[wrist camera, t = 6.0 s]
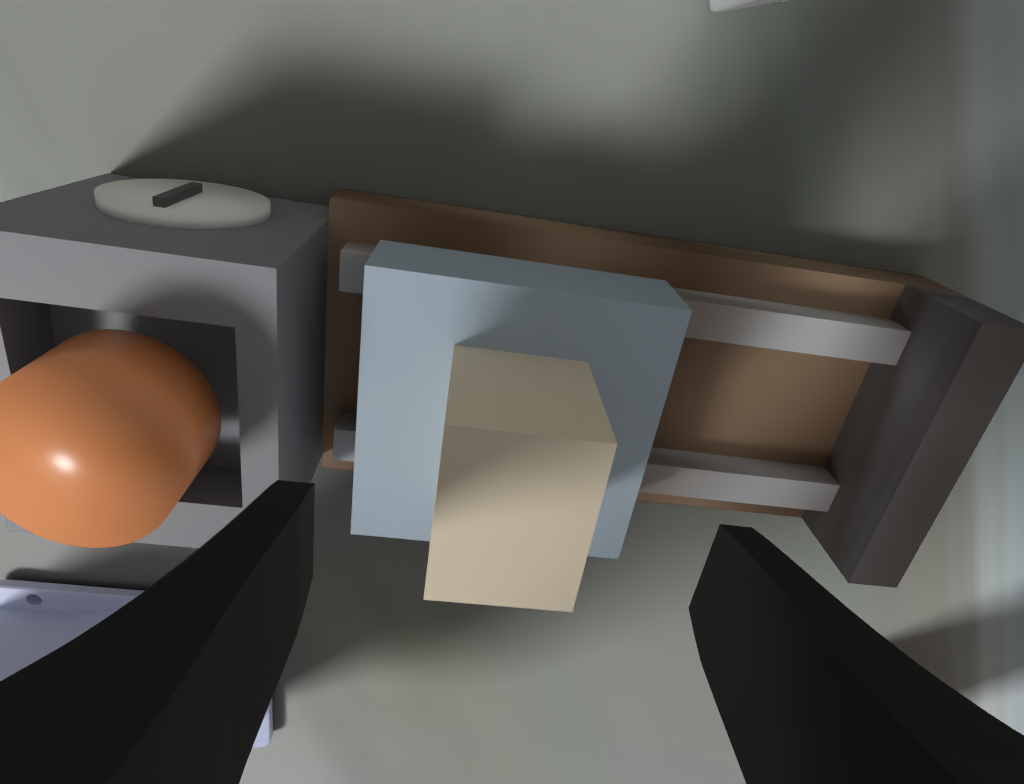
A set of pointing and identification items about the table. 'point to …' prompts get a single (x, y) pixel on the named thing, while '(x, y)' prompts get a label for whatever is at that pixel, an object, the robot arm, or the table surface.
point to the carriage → (507, 415)
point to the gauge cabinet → (185, 313)
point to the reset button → (103, 438)
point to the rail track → (746, 372)
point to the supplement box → (739, 4)
